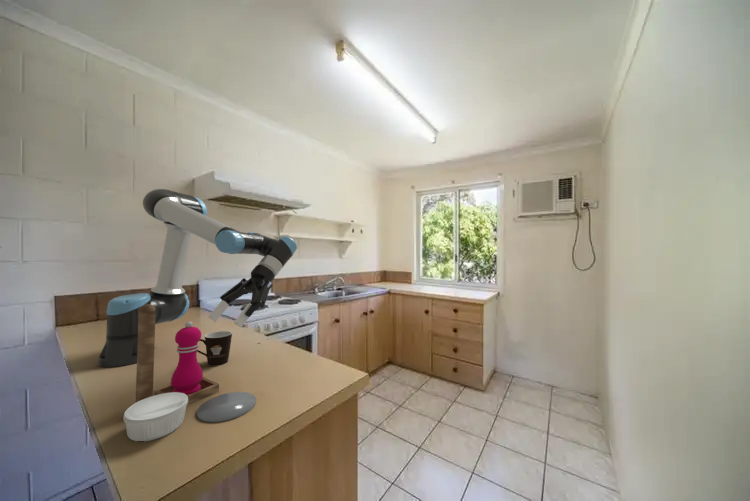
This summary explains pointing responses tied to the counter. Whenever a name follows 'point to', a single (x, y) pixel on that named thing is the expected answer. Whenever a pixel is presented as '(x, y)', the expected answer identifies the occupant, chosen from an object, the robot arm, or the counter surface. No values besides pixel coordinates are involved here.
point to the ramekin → (155, 416)
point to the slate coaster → (226, 407)
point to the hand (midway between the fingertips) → (223, 322)
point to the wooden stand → (147, 362)
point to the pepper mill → (187, 361)
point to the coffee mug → (217, 347)
